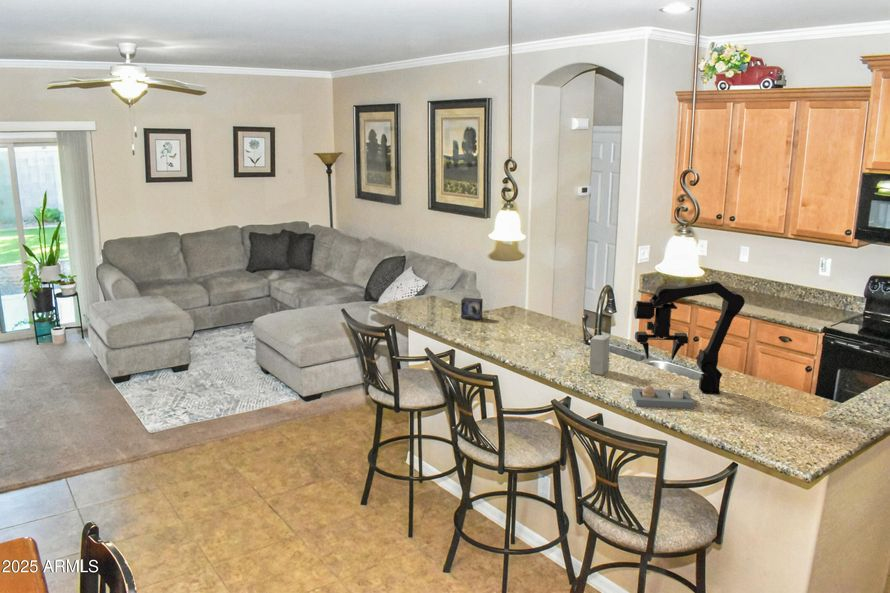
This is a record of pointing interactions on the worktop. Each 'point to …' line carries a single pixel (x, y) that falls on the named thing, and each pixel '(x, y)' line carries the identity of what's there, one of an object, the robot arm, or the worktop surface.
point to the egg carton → (660, 398)
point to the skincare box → (599, 354)
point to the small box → (471, 308)
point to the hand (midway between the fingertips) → (659, 359)
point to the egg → (676, 393)
